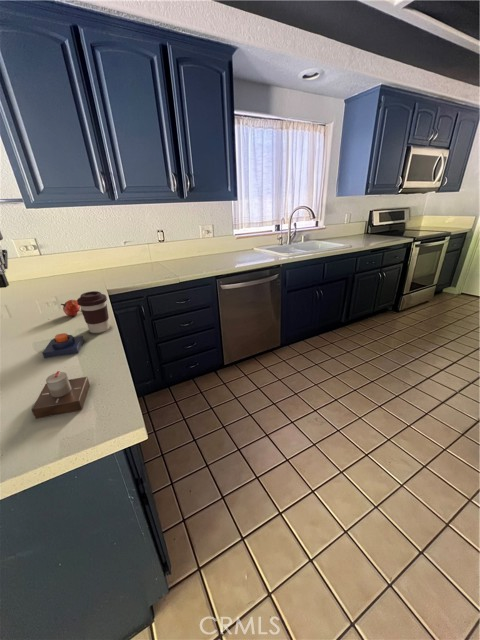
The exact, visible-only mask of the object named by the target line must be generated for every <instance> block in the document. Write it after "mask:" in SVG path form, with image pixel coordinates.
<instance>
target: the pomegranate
mask: <svg viewBox="0 0 480 640" xmlns="http://www.w3.org/2000/svg"><path fill="white" fill-rule="evenodd" d="M60 306H62V310H63V313H64V314H65V315H66V316H69V317H73V318H74V317H76V316H77V315H78V313H79V312H80V313H82V311H81V306H80V305H78V303H77V299H69V300H68V299H67V301H66V302H64V303H60Z"/></svg>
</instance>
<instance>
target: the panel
mask: <svg viewBox="0 0 480 640" xmlns="http://www.w3.org/2000/svg"><path fill="white" fill-rule="evenodd" d="M69 382H70V385H71V391H70V392H69V393H68V394H66V395H64V396H61V397H53V396H52V395H51V393H50V390H49V388H48V385H47V383H45V384H44V386H43V388H42V390H41V392H40V393H39V395H38V397H37V399H36V401H35V403H34V404H33V406H32V408H31V411H32V414H33V416H34V419H35V420H37V419H42V418H47V417H53V416H58V415H64V414H68V413H73V412H79V411H82V410H83V409H84V406H85V401H86V398H87V396H88V392H89V389H90V386H91V384H90V381H89V378H88V376H83V377H75V378H72V379H70V378H69Z"/></svg>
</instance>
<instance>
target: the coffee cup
mask: <svg viewBox="0 0 480 640" xmlns="http://www.w3.org/2000/svg"><path fill="white" fill-rule="evenodd" d="M76 300H77V303H78V305H80V312H81V311H82V312H81V313H82V316H83V319H84V322H85V324H86V326H87V328H88V331H89V332H90V333H92V334H100V333H101V334H102V333H104V332H106V331H108V330H110V321H109V318H110V316H109V311H108V305H107V300H108V297H107V295H106V294H104V293H102V292H101V291H98V290H97V291H96V290H92V291H87V292H83V293H82V294H80V297H78V298H77V299H76Z"/></svg>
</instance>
